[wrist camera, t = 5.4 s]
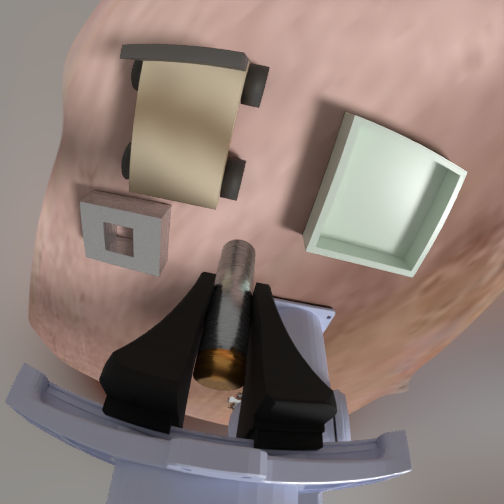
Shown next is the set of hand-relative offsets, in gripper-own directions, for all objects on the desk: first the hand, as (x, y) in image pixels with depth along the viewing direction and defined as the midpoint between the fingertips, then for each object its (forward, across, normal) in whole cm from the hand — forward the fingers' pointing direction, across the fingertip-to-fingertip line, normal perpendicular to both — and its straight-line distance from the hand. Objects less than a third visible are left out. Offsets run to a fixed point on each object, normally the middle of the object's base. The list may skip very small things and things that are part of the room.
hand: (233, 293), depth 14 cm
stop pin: (+3, 0, 0) cm, 3 cm away
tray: (+10, -11, -4) cm, 15 cm away
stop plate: (+10, +10, +4) cm, 15 cm away
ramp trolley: (+10, +5, -6) cm, 13 cm away
